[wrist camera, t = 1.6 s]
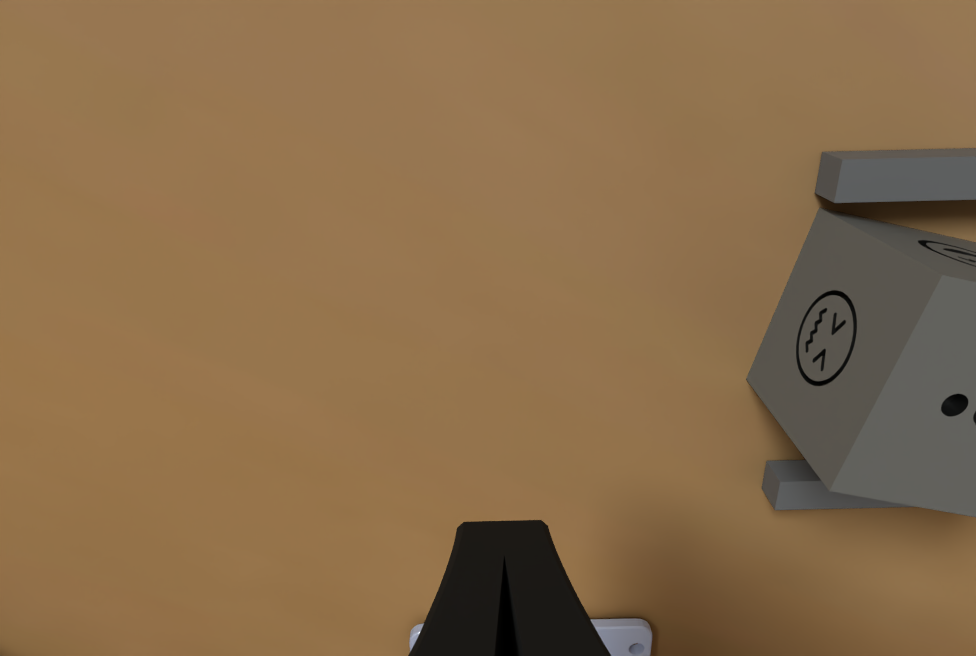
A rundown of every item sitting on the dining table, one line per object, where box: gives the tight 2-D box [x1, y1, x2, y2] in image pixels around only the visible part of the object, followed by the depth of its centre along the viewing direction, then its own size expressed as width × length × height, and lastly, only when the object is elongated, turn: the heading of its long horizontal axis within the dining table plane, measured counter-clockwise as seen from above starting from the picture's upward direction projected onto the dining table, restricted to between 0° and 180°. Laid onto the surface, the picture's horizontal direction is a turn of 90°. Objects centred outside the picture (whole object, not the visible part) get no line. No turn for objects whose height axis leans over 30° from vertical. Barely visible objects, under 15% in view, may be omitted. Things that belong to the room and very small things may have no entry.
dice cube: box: [746, 208, 976, 517], centre depth 16 cm, size 5×5×5 cm
